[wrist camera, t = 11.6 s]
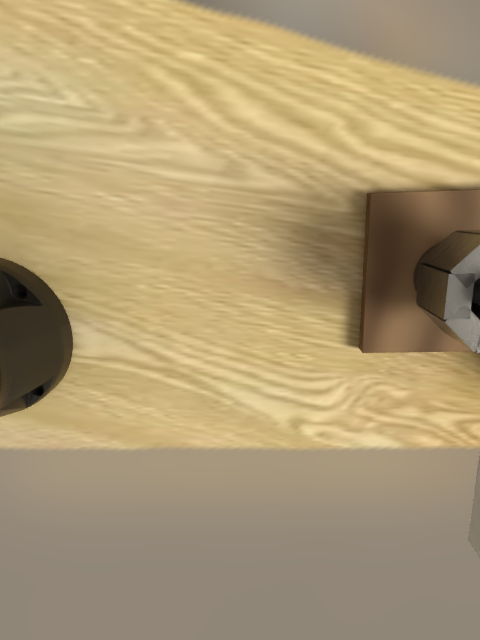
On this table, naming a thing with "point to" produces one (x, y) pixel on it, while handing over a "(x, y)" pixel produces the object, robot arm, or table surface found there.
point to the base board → (407, 266)
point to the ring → (452, 286)
